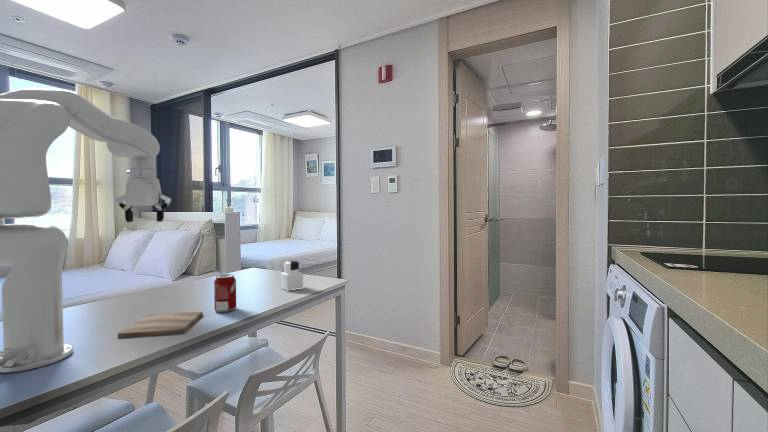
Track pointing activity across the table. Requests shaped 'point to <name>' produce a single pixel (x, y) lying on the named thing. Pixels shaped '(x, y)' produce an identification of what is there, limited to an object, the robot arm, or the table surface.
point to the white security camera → (291, 276)
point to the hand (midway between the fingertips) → (144, 221)
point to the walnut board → (161, 324)
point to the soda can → (225, 293)
